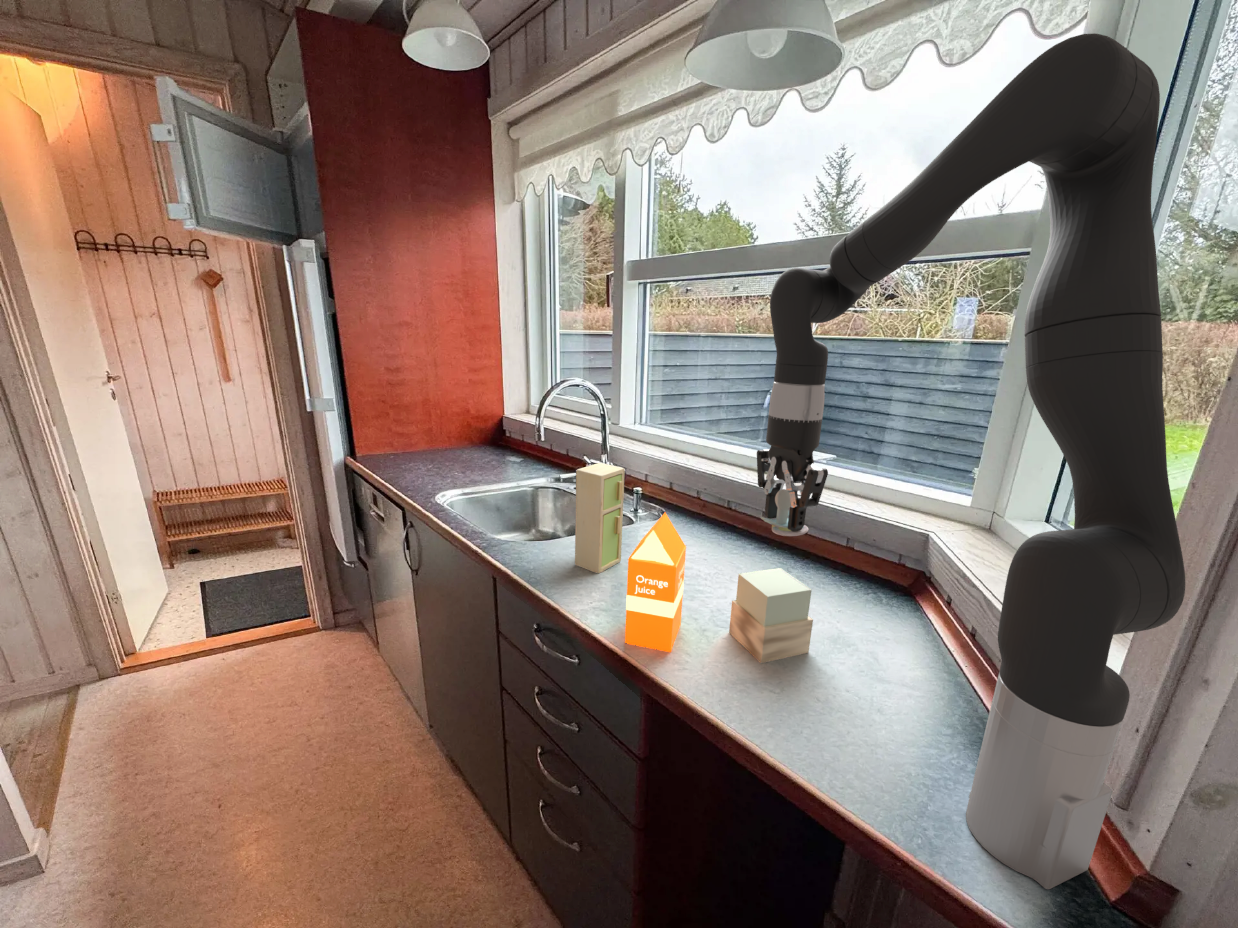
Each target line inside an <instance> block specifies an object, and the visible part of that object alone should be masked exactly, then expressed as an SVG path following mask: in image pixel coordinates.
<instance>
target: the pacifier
mask: <svg viewBox="0 0 1238 928" xmlns="http://www.w3.org/2000/svg"><path fill="white" fill-rule="evenodd" d="M775 503H776V505H777V507H778V509H777V517H776V518H772V519H769V518H767V517H764V516H762V515H761V516H760V519H761V520H762V521H763V522H765V523H767V524H769V525H771V531H772V533H774V534H776V535H778V536H783V537H797V536H803V535H805V534H807V533H808V532H809V530H810V529H809V527H808V526H807V525H805V524H804V526H803V528H802V529H801V530H799V531H791V530H789V529H788V519H789V511H790V506H791V502H790V493H789V492H788V491H787V490H786V488H785V489H782V490H780V491H778V492H777V494H776V496H775Z"/></svg>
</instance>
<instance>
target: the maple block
mask: <svg viewBox="0 0 1238 928" xmlns="http://www.w3.org/2000/svg"><path fill="white" fill-rule="evenodd" d="M813 623H814V619H813V617H810V616H809V615H808V619H804V620H798V621H793V622H787V623H782V624H776V625H771V626H765V627H764V626H763V625H762V624H761V623H760V622H759V621H757V620H756V619H755V618H754V617H753V616H752V615H751V614H750V613H748V612H747V611H746V610H745V609H744V608H743V607H742V606H740V605H739V604H738V603H737V602H736V599H735V600H731V610H730V620H729V631H728V632H729V634H730V635H731V636H732V637H733V638H734V639H735V640H736V641H737V642H738V643H739V644H740V645H741V646H743V647H744V648H745V649H746V650H747V652H749V653H750V655H752V656H753V657H754V658H755V659H756V660H757V661H758V662H759V663H760V664H765V663H769V662H774V661H777V660H782V659H786V658H790V657H795V656H800V655H804V654H809V653H808V652H810V645H811V637H812V630H813Z"/></svg>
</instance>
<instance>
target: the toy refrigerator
mask: <svg viewBox="0 0 1238 928" xmlns="http://www.w3.org/2000/svg"><path fill="white" fill-rule="evenodd" d="M625 470H626V469H625V467H621V466H618V465H617V466H616V465H613V464H608V463H604V462H599V463H595V464H591V465H588V466H585V467H581V468H577V469H576V471H575V473H576V474H575V534H574V536H575V537H574V539H575V543H574V564H575V566H577V567H580V568H583V569H585V570H588V571H590V572H593V573H596V574H600V573H602V572H604V571H606V570H608V569H611V567H614V566H615V565H617V564H618V563H619V564H620V562H621V560H622V544H623V543H622V539H623V534H622V533H623V513H624V496H625V495H624V494H625V493H624V492H625Z"/></svg>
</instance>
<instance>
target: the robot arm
mask: <svg viewBox="0 0 1238 928" xmlns="http://www.w3.org/2000/svg"><path fill="white" fill-rule="evenodd" d="M1160 94H1161V93H1160V87H1159V82H1158V79H1157V77H1156V75H1155V73H1154V71H1153V69H1152V68H1151V67H1150V66H1149V65H1148V64H1147V63H1146V62H1145V61H1143V60H1142V59H1140V58H1139V57H1138V56H1136V55H1135V54H1134V53H1133V52H1131V51H1130V50H1129V49H1127V47H1125V46H1124V45H1122V44H1121V43H1120V42H1119V41H1117V40H1116V39H1114V38H1113V37H1110V36H1108V35H1104V34H1099V33H1083V34H1079V35H1076V36H1072V37H1069V38H1067V39H1064V40H1063V41H1060V42H1058V43H1056V44H1055V45H1053V46H1051V47H1050V48H1048V49H1047V50H1045V51H1044V52H1042V53H1041V54H1039V55H1038V56H1037V57H1036V58H1035V59H1034V60H1032V61H1031V62H1030V63H1029V64H1028V65H1026V66H1025V67H1024V69H1022V70H1021V71H1020V72H1019V73H1018V74H1017V75H1016V76H1015V77H1014V78H1013V79H1012V80H1011V81H1009V83H1007V85H1006V86H1005V87H1003V88H1002V90H1000V92H999V93H998V94H996V95H995V97H994V98H993V99H992V100H991V101H990V102H989V103H988V104H987V105H986V106H985V107H984V108H983V109H982V110H981V111H980V112H979V113H978V114H977V115H976V116H975V118H974V119H972V120H971V121H970V122H969V124H968V125H967V126H965V128H963V129H962V130H961V132H959V133H958V135H956V136H955V138H953V140H951V142H949V144H947V146H945V147H944V148H943V150H941V152H940V153H939V154H938V155H936V157H935V158H934V159H933V160H932V161H931V162H930V163H929V164H928V165H927V166H926V167H925V168H924V169H923V170H921V172H920V173H919V174H918V175H917V176H916V177H915V178H914V179H913V180H912V181H911V182H909V183H908V184H907V185H906V186H905V187H904V188H903V189H902V190H901V191H900V192H898V194H896V195H895V196H894V197H893V198H892V199H890V200H888V202H887V203H886V204H884V205H883V206H882V207H881V208H880V209H878V210H877V211H876V212H874V213H873V214H871V215H870V216H869V217H868V218H866V219H865V220H864V221H862V222H861V223H860V224H859V225H858V226H856V227H855V228H853V229H852V230H851V231H850V232H849V233H847V234H846V235H845V236H844V237H842V238H841V239H839V241H838V242H837V243H836V244H835V245H834V246H833V247H832V249H831V251H830V254H829V260H828V262H829V267H827V268H826V269H823V270H819V269H811V268H804V267H803V268H802V267H801V268H800V267H793V268H790V269H787V270H785V271H783V273H781V274H780V275H779V277H778V278H777V279H776V281H775V283H774V285H773V287H772V288H771V289H772V290H771V293H770V299H769V311H770V319H771V325H772V326H771V327H772V332H773V339H774V345H775V350H776V351H775V352H776V358H775V367H774V377H773V385H772V390H771V393H770V399H769V407H768V415H767V418H768V419H767V428H766V436H765V437H766V438H765V441H766V443H767V445H769V446H770V448H769V449H758V450H757V451H756V468H757V469H756V471H757V486H758V487H759V488H763V493H764V494H765V496H766V497H765V505H764V506H765V507H764V516H765V518H769V519H776V517H777V509H778V507H777V505H776V503H775V496H776V494H777V492H778V491H780V490H782V489H783V488H784V486H785V489H786V490H787V491H788V492H789V493H790V502H791V506H790V508H789V510H790V511H789V510H788V511H789V516H788V518H789V519H788V529H789V530H791V531H799V530H801V529H802V528H803V526H804V525H805V520H806V512H807V508H809V507H817V506H818V505H819V503H820V499H821V497H822V494H823V490H824V487H825V485H826V481H827V478H828V474H829V472H828V471H829V470H828V469H827V468H826V467H825V468H820V467H818V466H817V465H815V460H814V456H813V455H814V454H813V453H814V451H815V450H816V449H817V448H818V447H819V445H820V440H821V433H822V432H821V431H822V424H823V423H822V422H823V416H824V410H825V409H824V408H825V399H826V398H825V387H826V386H825V385H826V378H827V377H826V376H827V369H828V359H829V349H828V347H827V345H826V344H824V343H823V342H821V341H818V340H816V339H815V338H814V335H813V329H812V324H822V323H828V322H830V321H833V320H835V319H836V318H838V317H840V316H842V315H843V314H845V312H847V311H848V310H849V309H850V308H851V307H852V306H853V305H855V303H856V302H858V301H859V299H860V298H861V297H862V296H863V295H864V294H865V293H866V292H867V291H868V290H869V289H870V287H871V286H873V285H875V284H877V283H878V282H879V281H882V280H883V279H885V278H886V277H887V276H889V275H891V274H892V273H894V272H896V271H897V270H898V269H900V268H901V267H903V266H904V265H906V264H907V263H909V262H910V261H911V260H913V259H914V258H916V257H917V256H918V255H920V254H921V252H923V251H924V250H925V249H926V248H927V247H928V246H929V245H930V243H932V241H934V239H935V238H936V236H937V235H939V233H940V232H941V230H942V229H943V228H944V227H945V226H946V223H947V222H948V221H949V220H950V219H951V217H952V216H953V215H954V214H955V213H956V212H957V211H958V209H959V208H960V207H962V205H964V203H966V202H967V201H968V200H969V199H970V198H972V197H973V196H974V195H975V194H976V193H978V192H979V191H980V190H982V189H983V188H984V187H986V186H987V185H989V184H991V183H992V182H994V181H995V180H997V179H999V178H1000V177H1002V176H1005V174H1007V173H1009V172H1011V171H1013V170H1015V169H1017V168H1019V167H1021V166H1023V165H1024V164H1027V163H1032V164H1034V165H1036V166H1037V167H1040V168H1041V170H1042V173H1043V175H1044V180H1045V184H1046V190H1047V198H1048V208H1049V219H1050V220H1049V222H1050V223H1049V224H1050V225H1049V227H1050V228H1049V240H1048V245H1047V250H1046V253H1045V256H1044V259H1043V262H1042V264H1041V267H1040V270H1039V272H1038V275H1037V277H1036V279H1035V282H1034V285H1033V288H1032V290H1031V294H1030V295H1029V296H1030V297H1029V300H1028V303H1027V308H1026V312H1025V318H1024V319H1025V320H1024V355H1025V356H1024V357H1025V359H1024V360H1025V375H1026V382H1027V383H1026V384H1027V388H1028V392H1029V395H1030V397H1031V399H1032V401H1033V402H1032V403H1033V404H1034V406H1035V408H1036V411H1037V412H1038V414H1039V416H1040V417H1041V419H1042V421H1043V423H1044V424H1045V426H1046V428H1047V429H1048V431H1049V433H1050V434H1051V436H1052V437H1053V439H1054V441H1055V443H1056V444H1057V446H1058V447H1059V449H1060V451H1061V453H1062V455H1063V456H1064V458H1065V462H1066V464H1067V466H1068V469H1069V472H1070V476H1071V480H1072V481H1071V483H1072V487H1073V501H1074V523H1073V524H1074V526H1073V529H1062V530H1061V529H1060V530H1049V531H1045V532H1044V531H1043V532H1039V533H1035V534H1034V535H1032V536H1030V537H1028V538H1027V539H1026V540H1025V541H1023V542H1022V544H1020V546H1019V547H1018V548H1017V550H1016V551H1015V553H1014V555H1013V557H1012V560H1011V563H1010V566H1009V569H1008V573H1007V576H1006V581H1005V585H1004V587H1005V588H1004V592H1003V599H1002V607H1001V610H1000V616H999V624H998V630H997V643H998V649H999V650H998V651H999V654H1000V658H1001V663H1000V668H999V671H998V675H997V676H998V677H997V680H996V684H995V688H994V693H993V697H992V700H991V705H990V710H989V713H988V717H987V722H986V726H985V730H984V733H983V734H984V735H983V738H982V743H981V747H980V750H979V754H978V755H979V756H978V760H977V764H976V768H975V771H974V776H973V780H972V785H971V790H970V792H969V794H968V795H969V796H968V802H967V807H966V812H965V819H966V823H967V826H968V828H969V830H970V832H971V834H972V835H973V837H974V838H975V839H976V840H977V842H978V843H979V844H980V845H981V846H982V848H984V849H985V850H986V851H987V852H988V853H989V854H991V855H992V856H993V858H995V859H997V860H998V861H1000V862H1001V863H1002V864H1004V865H1005V866H1007V867H1008V868H1010V869H1011V870H1013V871H1016V872H1018V873H1020V874H1022V875H1024V876H1026V877H1029V878H1031V879H1033V880H1035V881H1036V882H1037V883H1038V884H1039V885H1040V886H1042V887H1043V888H1044V889H1045V890H1051V889H1052V888H1055V887H1057V886H1058V885H1061V884H1062V883H1065V882H1066V881H1069V880H1071V879H1072V878H1075V877H1076V876H1078V875H1080V874H1083V873H1084V872H1087V871H1088V870H1089V866H1090V863H1091V860H1092V857H1093V854H1094V852H1095V848H1096V845H1097V843H1098V838H1099V836H1100V832H1101V829H1102V826H1103V822H1104V820H1105V817H1106V813H1107V811H1108V808H1109V804H1110V802H1111V798H1112V795H1113V789H1112V788H1111V786H1109V785H1108V784H1107V783H1104V782H1105V780H1106V776H1107V772H1108V770H1109V765H1110V763H1111V760H1112V756H1113V753H1114V749H1115V747H1116V744H1117V741H1118V737H1119V734H1120V731H1121V727H1122V725H1123V722H1124V719H1125V715H1126V713H1127V709H1128V706H1129V702H1130V696H1131V695H1130V689H1129V686H1128V684H1127V682H1126V681H1125V680H1124V678H1123V677H1121V675H1120V674H1118V672H1116V671H1115V670H1114V669H1113V668H1111V667H1109V666H1108V665H1107V662H1108V659H1109V658H1108V657H1109V652H1110V649H1111V644H1112V641H1113V638H1114V636H1115V635H1121V634H1130V633H1138V632H1141V631H1149V630H1152V629H1155V628H1158V627H1161V626H1163V625H1165V624H1167V623H1168V622H1170V621H1171V620H1172V619H1173V618H1174V617H1175V616H1176V614H1177V613H1178V612H1179V610H1180V608H1181V606H1182V604H1183V603H1184V602H1183V601H1184V598H1185V592H1186V572H1185V563H1184V558H1183V550H1182V546H1181V541H1180V536H1179V531H1178V526H1177V521H1176V516H1175V510H1174V504H1173V500H1172V494H1171V489H1170V484H1169V482H1170V481H1169V474H1168V473H1169V472H1168V463H1167V462H1168V461H1167V441H1166V440H1167V439H1166V438H1167V437H1166V436H1167V435H1166V424H1165V423H1166V420H1165V408H1164V393H1163V372H1164V371H1163V370H1164V369H1163V367H1164V359H1163V358H1164V355H1163V354H1164V353H1163V349H1164V348H1163V330H1162V327H1163V326H1162V325H1163V324H1162V310H1161V303H1160V293H1159V281H1158V280H1159V279H1158V262H1157V248H1156V241H1155V240H1156V239H1155V232H1154V224H1153V214H1152V187H1153V186H1152V185H1153V177H1154V176H1153V174H1154V165H1155V164H1154V163H1155V154H1156V146H1157V138H1158V136H1157V135H1158V126H1159V117H1160V102H1161V101H1160V99H1161V98H1160V97H1161V95H1160ZM766 472H767V474H766V476H765V473H766ZM796 484H800V485H796ZM798 492H799V493H800V498H799V496H798Z"/></svg>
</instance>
